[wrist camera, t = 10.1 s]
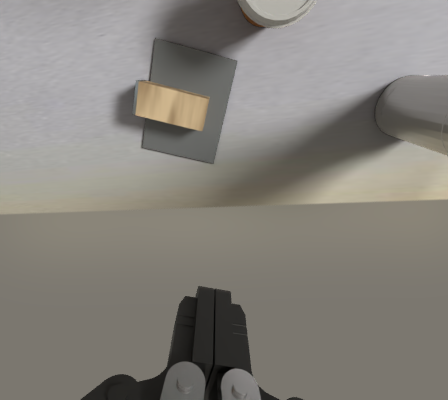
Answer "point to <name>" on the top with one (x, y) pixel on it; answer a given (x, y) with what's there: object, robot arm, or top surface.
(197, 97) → the oak block
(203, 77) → the mat
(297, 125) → the top surface
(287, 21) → the disposable coffee cup
